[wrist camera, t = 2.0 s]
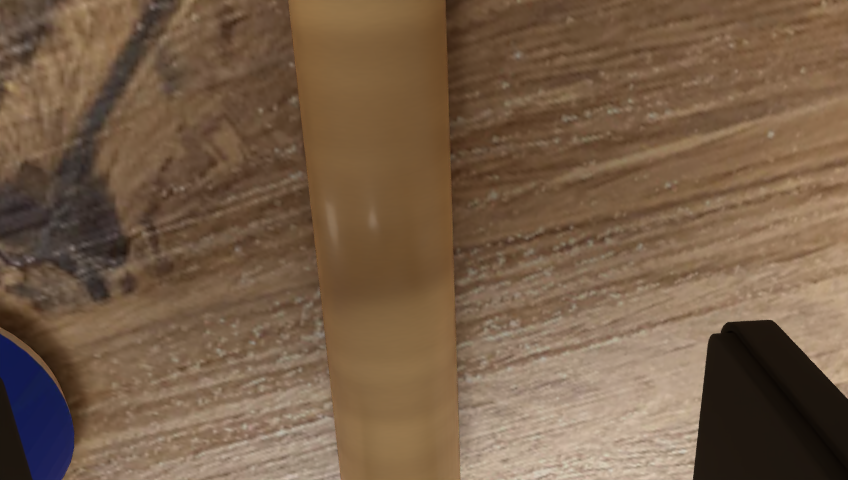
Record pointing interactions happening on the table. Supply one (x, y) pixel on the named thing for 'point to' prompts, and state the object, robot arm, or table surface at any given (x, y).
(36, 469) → the beverage can
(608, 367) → the table surface
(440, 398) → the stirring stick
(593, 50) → the table surface
